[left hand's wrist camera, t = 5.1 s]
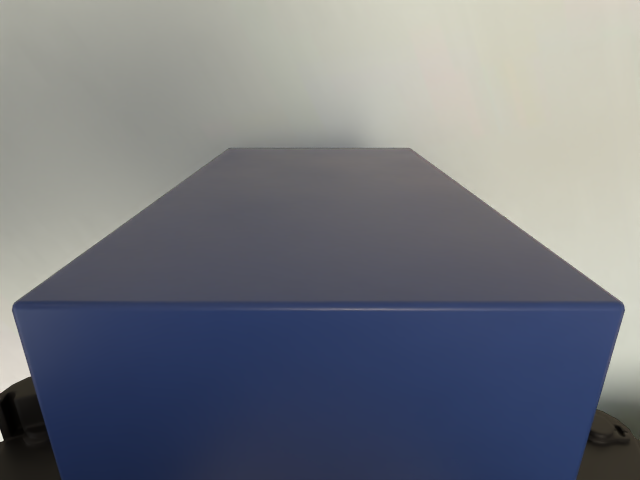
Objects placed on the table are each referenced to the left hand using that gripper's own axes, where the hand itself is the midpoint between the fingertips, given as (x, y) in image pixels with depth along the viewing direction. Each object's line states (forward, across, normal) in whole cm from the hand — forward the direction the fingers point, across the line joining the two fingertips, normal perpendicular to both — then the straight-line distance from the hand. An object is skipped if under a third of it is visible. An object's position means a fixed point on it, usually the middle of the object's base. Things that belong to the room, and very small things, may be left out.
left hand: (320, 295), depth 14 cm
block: (+3, 0, 0) cm, 3 cm away
